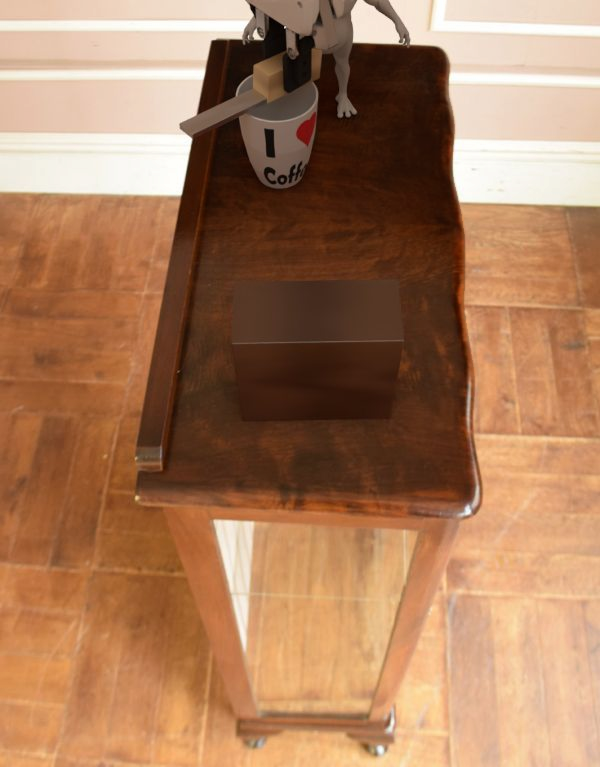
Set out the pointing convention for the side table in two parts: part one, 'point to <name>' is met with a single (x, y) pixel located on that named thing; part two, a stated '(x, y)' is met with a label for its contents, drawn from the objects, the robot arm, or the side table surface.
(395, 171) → the side table surface
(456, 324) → the side table surface
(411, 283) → the side table surface
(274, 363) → the dark rectangular block
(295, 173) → the cup
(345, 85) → the figurine
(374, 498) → the side table surface
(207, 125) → the knife
